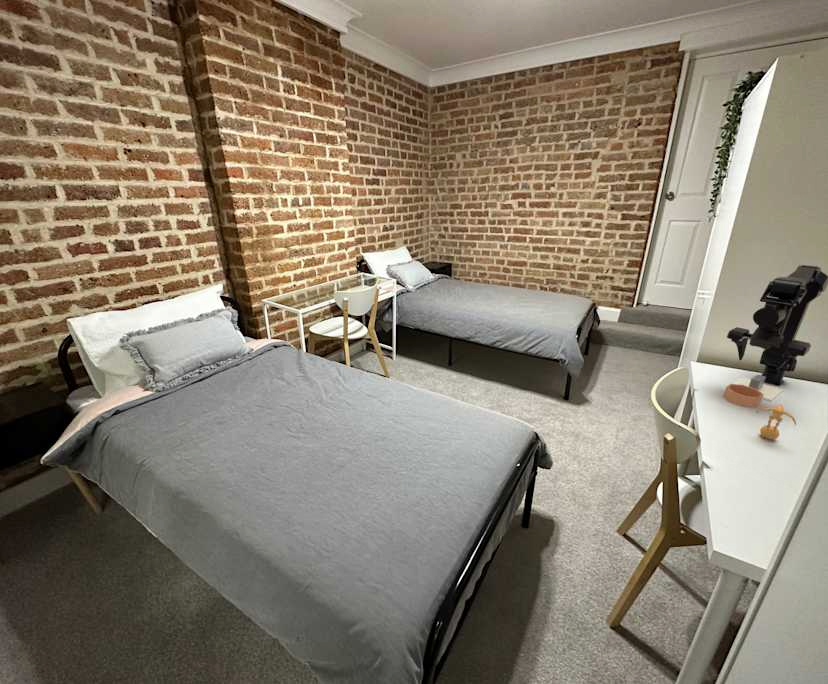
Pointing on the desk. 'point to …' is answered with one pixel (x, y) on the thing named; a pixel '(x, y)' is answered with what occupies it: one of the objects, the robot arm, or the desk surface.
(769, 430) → the figurine
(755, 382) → the lid
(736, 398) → the bowl
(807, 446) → the desk surface
